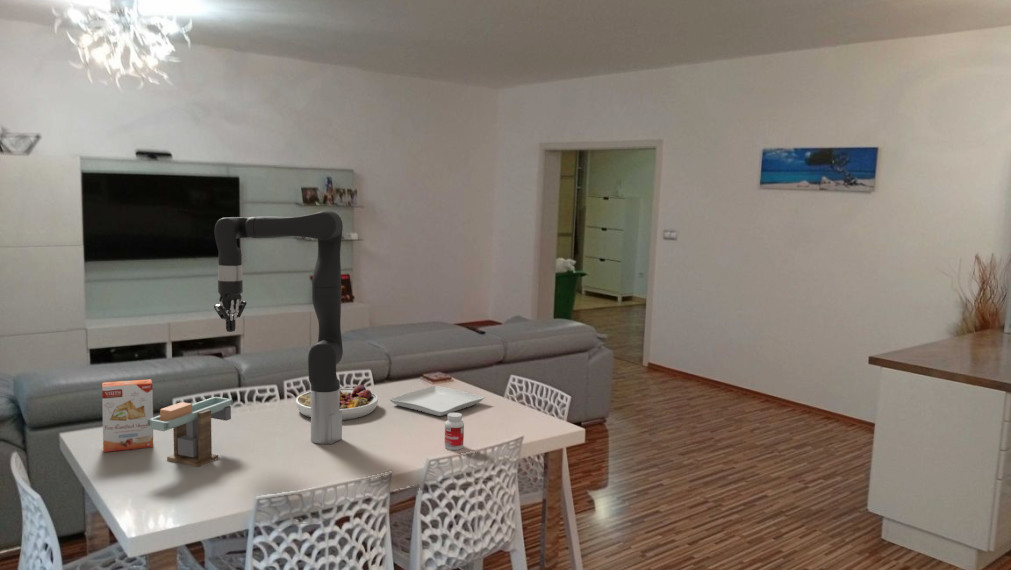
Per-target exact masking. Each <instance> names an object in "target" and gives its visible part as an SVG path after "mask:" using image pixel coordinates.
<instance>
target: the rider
mask: <svg viewBox="0 0 1011 570" xmlns="http://www.w3.org/2000/svg"><path fill="white" fill-rule="evenodd" d="M192 404H193V403H190V402H184V401H181V402H178V403H174V404H171V405H168V406H166V407H162V408H160V409H159V415H160V421H165V422H166V421H169V420H172V419H175V418H178V417H181V416H183V415H186V414H189V413H192Z"/></svg>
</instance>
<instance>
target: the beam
mask: <svg viewBox="0 0 1011 570" xmlns="http://www.w3.org/2000/svg"><path fill="white" fill-rule="evenodd" d="M191 404H192V413H189V414H186V415H183V416H181V417H178V418H175V419H172V420H169V421H166V422H165V421H160V414H159V415H157V416H153V418H150V419H148V425H150V428H151V429H153V431H154V430H155V431H160V432H165V431H169V430H171V429H173V428H174V427H177V426H180V425H183V424H185V423H186V430H187V435H184V436H182V437H179V438H177V440H178V454H179V455H184V456H189V457H196V456H198V413H199V412H202V411H205V410H211V419H214V420H221V421H224V422H225V421H230V420H231V419H232V410H231V409H232V407H231V406H232V405H233V404H234V403H233V399H232V398H225V397H219V396H212V397H209V398H207V399H204V400H201V401H198V402H195V403H191Z"/></svg>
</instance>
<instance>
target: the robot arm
mask: <svg viewBox="0 0 1011 570" xmlns="http://www.w3.org/2000/svg"><path fill="white" fill-rule="evenodd" d="M343 228H344V227H343V220H342V218H341V217H340V215H339V214H338V213H337V212H335V211H332V210H323V211H318V212H316V213H310V214H306V215H299V216H276V215H273V216H271V215H266V216H265V215H263V216H250V217H246V216H241V217H239V216H237V217H236V216H231V217H222V218H219V219H218V220H217V221H216V223H215V225H214V239H215V243H216V247H217V250H218V251H217V252H218V268H217V293H218V294H219V302H218V303H217V304H214V305H213V309H214V310H215V312H216V313H217V315H218V316H219V318H220V319H222V320H225V330H226V332H227V333H228V332H229V333H232V332H235V331H236V327H237V326H236V320H237V319H238V318H241V316H242V314H243V312H244V310H245V309H246V306H247V301H244V300H243V299H242V295H241V294H242V293H243V292H244V290H243V289H244V287H243V279H244V277H243V265H242V263H243V261H242V254H243V253H242V250H241V248H240V247H238V244H237V239H249V238H250V239H274V238H276V239H277V238H288V237H302V238H310V239H316V240H317V258H316V262H315V266H314V270H313V274H312V281H311V300H312V305H313V309H314V313H315V314H316V318H317V321H318V338H317V343H314V345H312V346H311V347H310V349H309V352H308V355H307V356H308V357H307V358H308V359H307V362H308V364H307V365H308V367H307V368H308V369H307V370H308V371H307V372H308V380H309V381H308V382H309V383H310V392H311V418H310V441H311V443H314V444H319V445H321V444H324V445H326V444H327V445H333V444H334V443H336V442H338V441H340V440H342V439H343V420H342V411H340V388H341V385H340V384H341V381H340V380H339V379H338V378H337V364H339V363H340V361H341V360H342V358H343V354H344V352H343V351H344V349H343V341H342V340H343V339H342V331H341V330H342V329H341V316H342V315H341V314H342V311H341V310H342V274H341V273H342V269H341V268H342V266H341V246H342V238H343Z"/></svg>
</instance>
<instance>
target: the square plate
mask: <svg viewBox="0 0 1011 570" xmlns="http://www.w3.org/2000/svg"><path fill="white" fill-rule="evenodd" d="M484 399H486V397H485V396H482V395H479V394H474V393H472V392H467V391H465V390H464V391H463V390H460V389H459V390H458V389H456V388H449V387H444V386H439V385H431V386H428V387H425V388H420V389H417V390H413V391H410V392H406V393H403V394H400V395H397V396H395V397H392V398H389V401H390V402H391V403H392V404H394V405H396V406H399V407H402V408H406V409H411V410H413V409H414V411H417V410H418V411H417V412H421V411H422V413H426V414H430V415H433V416H434V415H435V416H436V417H437V416H439V417H443V416H445V415H446V416H447V415H448V414H449V413H456V412H458V411H460V410H463V409H465V408H466V407H467V408H469V407H472V406H474V405H477V404H479V403H481V402H482V401H483V400H484Z"/></svg>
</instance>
